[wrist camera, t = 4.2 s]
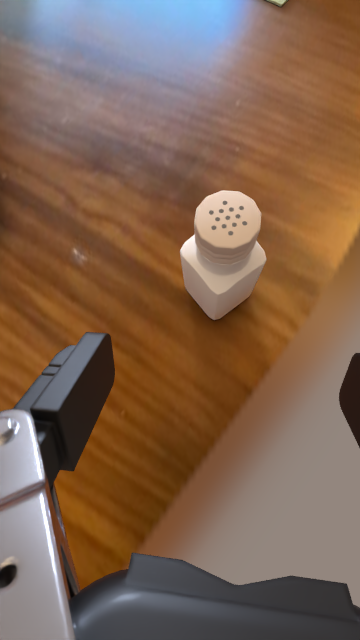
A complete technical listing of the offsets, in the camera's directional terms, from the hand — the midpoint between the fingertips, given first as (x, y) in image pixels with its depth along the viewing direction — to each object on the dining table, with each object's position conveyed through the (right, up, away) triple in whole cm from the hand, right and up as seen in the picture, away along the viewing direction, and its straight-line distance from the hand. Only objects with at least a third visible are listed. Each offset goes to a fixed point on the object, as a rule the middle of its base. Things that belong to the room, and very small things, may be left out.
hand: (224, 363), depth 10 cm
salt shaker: (+1, +4, +13) cm, 14 cm away
